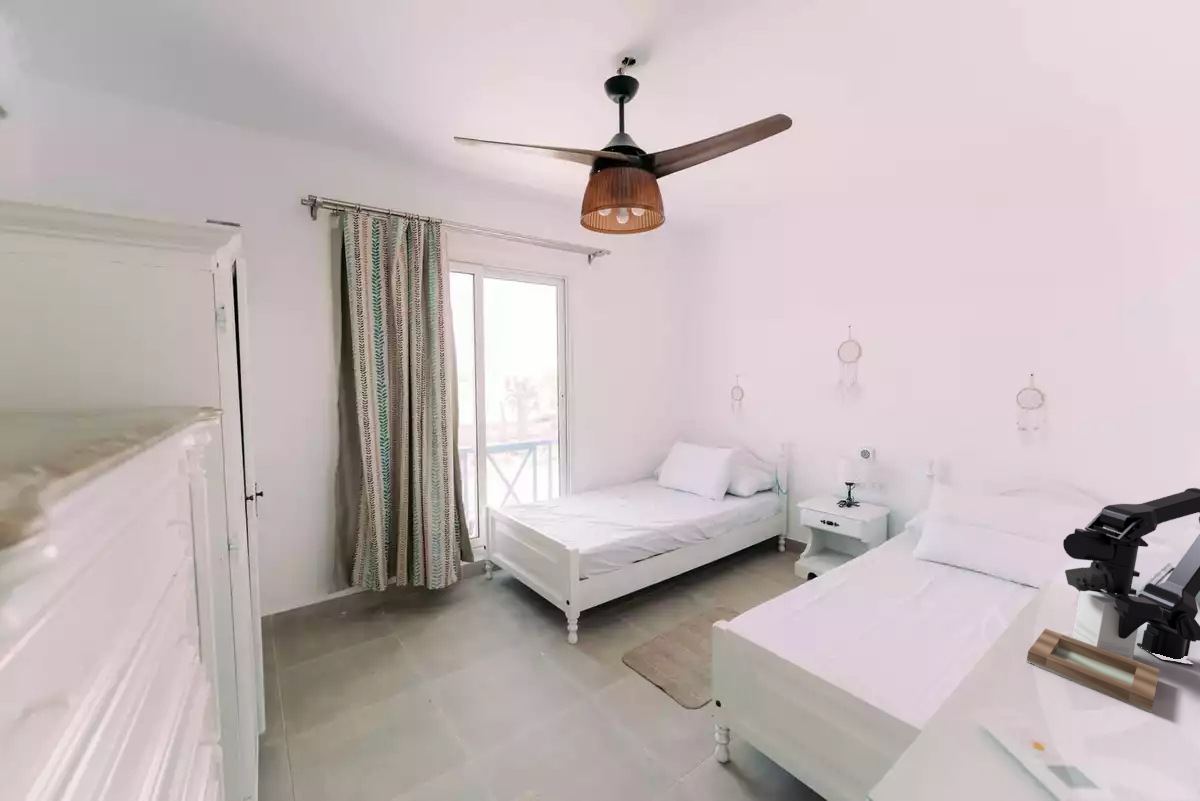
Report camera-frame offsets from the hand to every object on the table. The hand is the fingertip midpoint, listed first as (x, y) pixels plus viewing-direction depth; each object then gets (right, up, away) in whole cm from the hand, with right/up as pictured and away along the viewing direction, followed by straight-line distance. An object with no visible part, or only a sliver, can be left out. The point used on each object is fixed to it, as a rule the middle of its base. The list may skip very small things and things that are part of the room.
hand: (1105, 627), depth 113 cm
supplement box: (-1, -6, 0) cm, 6 cm away
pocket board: (-12, -5, -9) cm, 16 cm away
